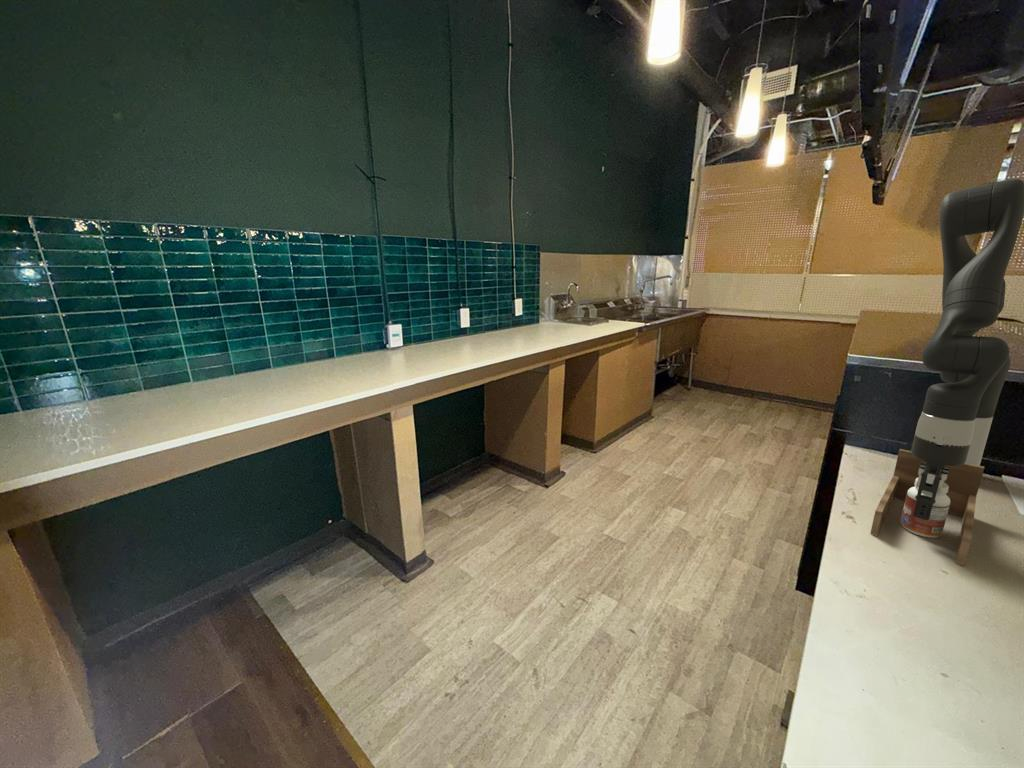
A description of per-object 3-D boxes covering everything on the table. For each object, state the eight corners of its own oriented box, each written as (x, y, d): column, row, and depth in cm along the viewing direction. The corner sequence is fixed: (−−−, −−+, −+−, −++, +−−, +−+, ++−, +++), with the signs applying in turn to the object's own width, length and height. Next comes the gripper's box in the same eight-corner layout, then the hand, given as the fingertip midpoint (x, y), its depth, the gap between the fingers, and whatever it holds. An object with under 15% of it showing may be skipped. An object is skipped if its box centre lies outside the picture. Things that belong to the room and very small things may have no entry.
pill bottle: (899, 517, 87) (910, 472, 84) (940, 528, 83) (952, 481, 80) (899, 531, 83) (911, 483, 80) (942, 543, 78) (956, 493, 76)
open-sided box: (889, 494, 96) (899, 448, 93) (970, 516, 86) (984, 466, 83) (870, 533, 82) (881, 481, 79) (963, 566, 72) (980, 508, 69)
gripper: (920, 423, 85) (903, 491, 89) (910, 441, 76) (892, 515, 80) (972, 432, 79) (953, 504, 83) (969, 452, 70) (947, 532, 74)
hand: (923, 509), depth 82 cm, fingers open, 8 cm apart
